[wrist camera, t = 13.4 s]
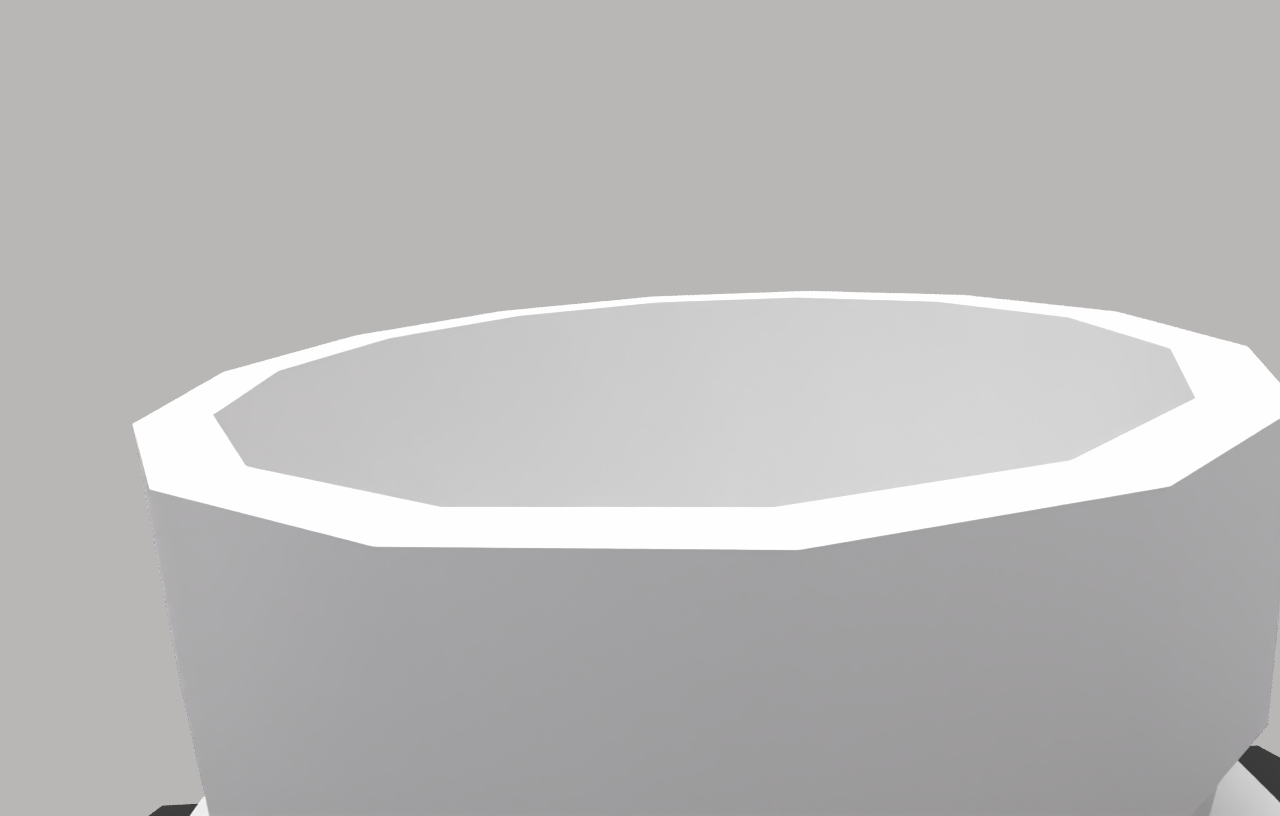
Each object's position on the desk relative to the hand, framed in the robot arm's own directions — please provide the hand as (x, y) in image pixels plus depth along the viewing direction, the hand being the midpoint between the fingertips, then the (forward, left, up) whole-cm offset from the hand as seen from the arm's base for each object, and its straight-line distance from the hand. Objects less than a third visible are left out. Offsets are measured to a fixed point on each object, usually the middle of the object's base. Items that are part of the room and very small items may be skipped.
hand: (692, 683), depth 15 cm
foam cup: (+2, -4, -7) cm, 9 cm away
